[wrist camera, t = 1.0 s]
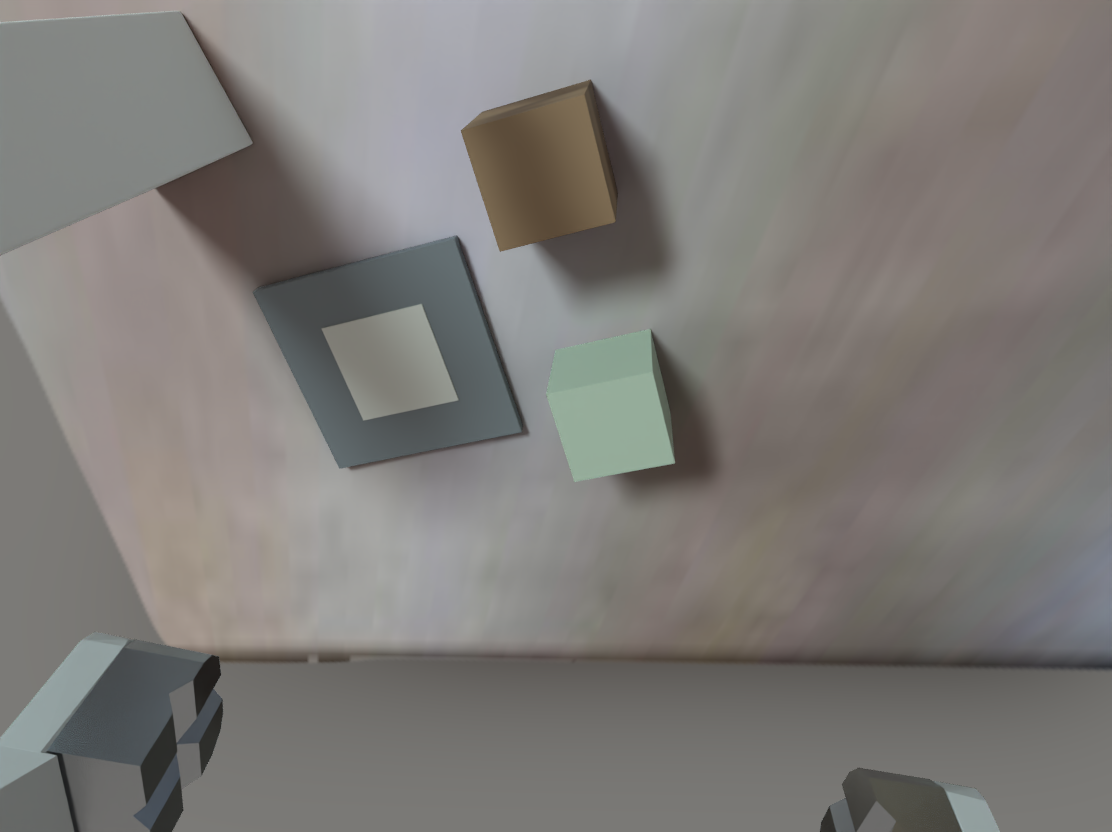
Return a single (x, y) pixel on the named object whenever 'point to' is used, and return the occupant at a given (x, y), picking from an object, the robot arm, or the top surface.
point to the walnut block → (543, 166)
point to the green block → (611, 406)
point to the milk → (102, 116)
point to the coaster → (393, 354)
